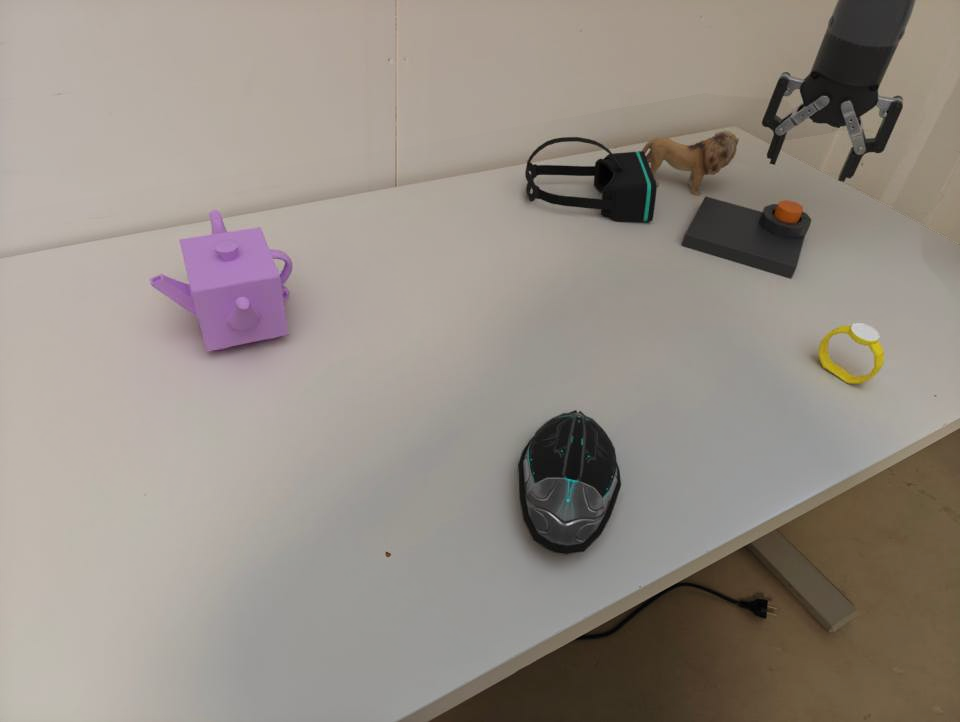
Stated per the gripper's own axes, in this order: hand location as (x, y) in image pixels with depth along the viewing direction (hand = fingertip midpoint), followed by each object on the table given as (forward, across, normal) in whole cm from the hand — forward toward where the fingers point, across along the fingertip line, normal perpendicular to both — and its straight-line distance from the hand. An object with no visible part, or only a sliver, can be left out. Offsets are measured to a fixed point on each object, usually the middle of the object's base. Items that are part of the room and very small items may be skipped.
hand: (806, 170), depth 86 cm
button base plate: (+10, +4, +3) cm, 11 cm away
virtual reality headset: (+10, +26, +5) cm, 28 cm away
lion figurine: (+10, +16, -8) cm, 21 cm away
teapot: (+10, +48, +51) cm, 71 cm away
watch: (+10, -10, +25) cm, 29 cm away
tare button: (+7, 0, 0) cm, 7 cm away
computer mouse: (+10, +11, +54) cm, 56 cm away
